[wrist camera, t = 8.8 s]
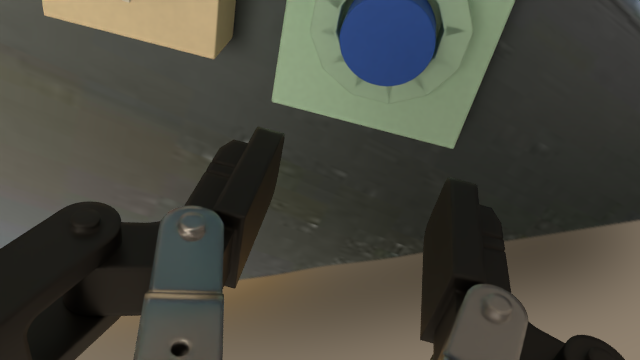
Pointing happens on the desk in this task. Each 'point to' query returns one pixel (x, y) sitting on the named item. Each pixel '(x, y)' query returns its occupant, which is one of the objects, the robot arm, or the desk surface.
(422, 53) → the button
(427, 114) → the green push-button base
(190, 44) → the panel
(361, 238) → the desk surface
